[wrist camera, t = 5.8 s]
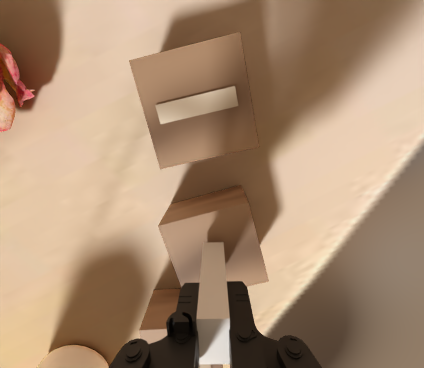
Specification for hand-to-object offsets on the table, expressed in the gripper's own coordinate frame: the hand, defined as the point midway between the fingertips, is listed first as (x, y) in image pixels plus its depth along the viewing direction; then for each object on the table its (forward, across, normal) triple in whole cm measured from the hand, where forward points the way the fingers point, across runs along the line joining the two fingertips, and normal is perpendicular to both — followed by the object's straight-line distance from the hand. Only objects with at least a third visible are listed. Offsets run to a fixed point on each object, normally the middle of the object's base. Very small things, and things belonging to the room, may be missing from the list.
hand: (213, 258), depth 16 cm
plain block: (+6, 0, 0) cm, 6 cm away
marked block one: (+6, -1, +11) cm, 12 cm away
